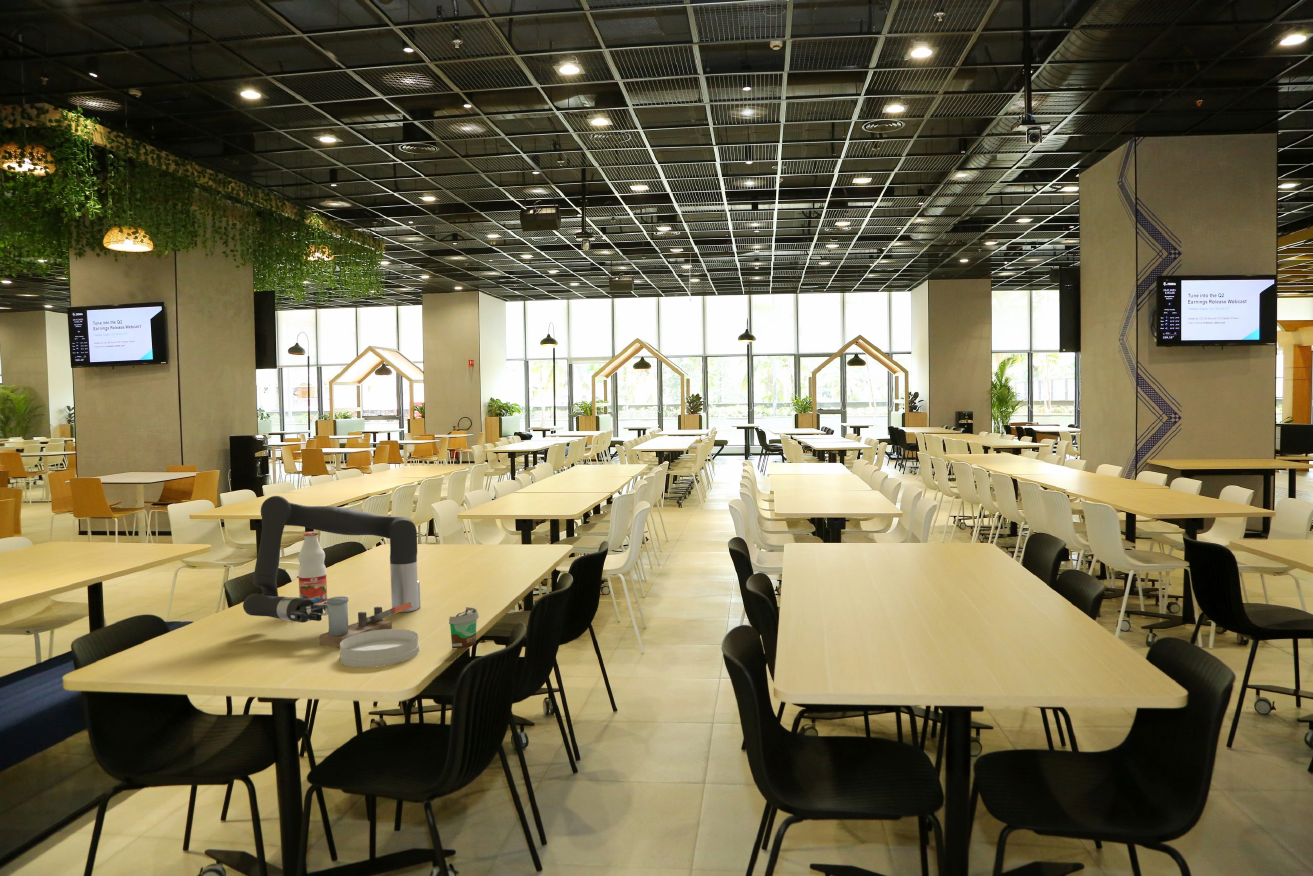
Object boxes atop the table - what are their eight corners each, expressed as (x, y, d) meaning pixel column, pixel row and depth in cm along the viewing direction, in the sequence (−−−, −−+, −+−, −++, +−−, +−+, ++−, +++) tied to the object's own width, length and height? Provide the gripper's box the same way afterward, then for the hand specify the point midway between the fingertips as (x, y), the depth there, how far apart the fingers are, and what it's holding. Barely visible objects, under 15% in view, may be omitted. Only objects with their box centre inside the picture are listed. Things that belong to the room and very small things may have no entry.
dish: (374, 673, 219) (373, 655, 218) (323, 661, 230) (322, 644, 230) (435, 651, 237) (434, 634, 237) (385, 641, 249) (384, 625, 249)
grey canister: (339, 630, 251) (338, 595, 250) (353, 632, 248) (352, 597, 248) (323, 635, 245) (322, 600, 245) (338, 637, 242) (336, 601, 242)
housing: (369, 627, 264) (368, 605, 264) (391, 630, 260) (390, 608, 259) (319, 644, 246) (318, 620, 246) (343, 648, 242) (342, 624, 241)
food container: (469, 651, 235) (468, 617, 235) (449, 650, 237) (448, 617, 236) (486, 639, 247) (485, 607, 247) (467, 638, 249) (466, 606, 248)
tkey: (375, 614, 262) (410, 601, 255) (377, 620, 262) (412, 607, 255) (359, 620, 255) (394, 606, 249) (361, 626, 255) (396, 613, 248)
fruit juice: (327, 603, 300) (324, 529, 299) (327, 609, 291) (324, 533, 290) (300, 606, 296) (297, 531, 295) (299, 612, 288) (296, 535, 286)
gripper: (275, 602, 248) (312, 607, 241) (313, 592, 261) (349, 596, 254) (276, 626, 248) (313, 632, 241) (314, 615, 261) (350, 620, 254)
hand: (331, 614), depth 247 cm, fingers open, 8 cm apart
